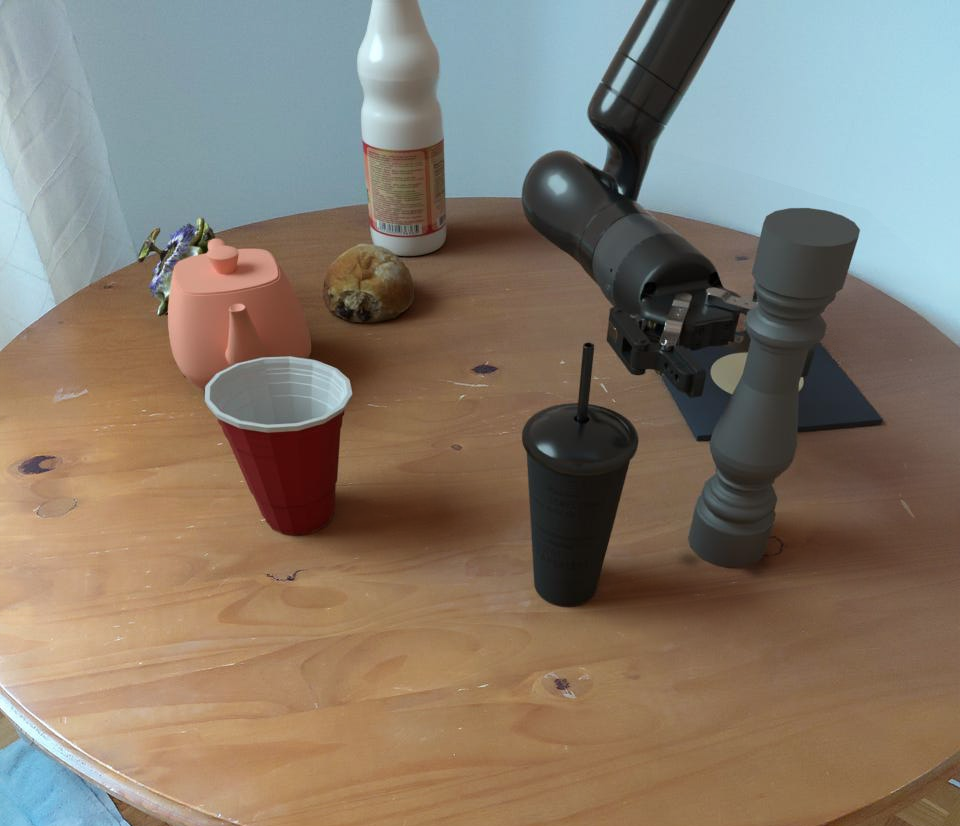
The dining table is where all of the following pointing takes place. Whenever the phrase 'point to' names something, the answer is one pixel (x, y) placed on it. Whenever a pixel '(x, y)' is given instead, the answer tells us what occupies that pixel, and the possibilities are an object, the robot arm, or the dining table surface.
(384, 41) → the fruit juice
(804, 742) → the dining table surface
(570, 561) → the drinking cup
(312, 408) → the plastic cup
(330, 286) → the bread roll
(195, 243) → the passion flower
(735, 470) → the candle holder
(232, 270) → the teapot
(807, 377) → the placemat
